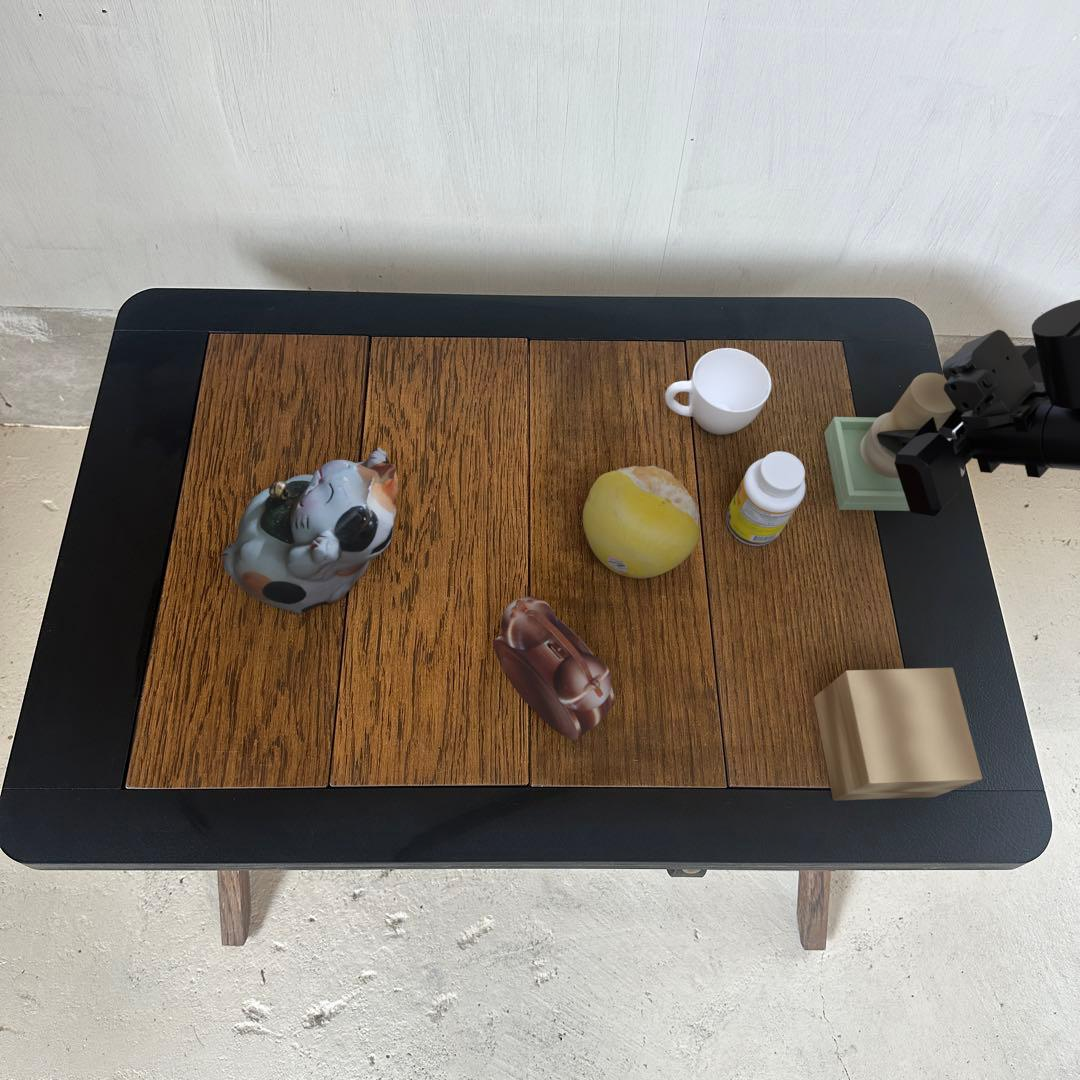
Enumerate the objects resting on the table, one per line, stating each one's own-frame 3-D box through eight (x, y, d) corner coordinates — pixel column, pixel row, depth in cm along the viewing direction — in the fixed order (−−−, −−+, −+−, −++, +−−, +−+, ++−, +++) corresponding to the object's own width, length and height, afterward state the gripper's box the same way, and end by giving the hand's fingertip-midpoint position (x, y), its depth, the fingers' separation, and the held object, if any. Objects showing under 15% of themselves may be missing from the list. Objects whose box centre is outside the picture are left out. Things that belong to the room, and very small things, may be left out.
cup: (757, 449, 88) (777, 412, 82) (662, 449, 87) (674, 411, 81) (747, 388, 91) (765, 347, 85) (655, 388, 91) (666, 347, 84)
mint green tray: (909, 434, 89) (922, 418, 87) (928, 511, 85) (942, 496, 83) (823, 432, 89) (833, 416, 86) (838, 510, 85) (849, 495, 82)
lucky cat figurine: (285, 467, 84) (334, 383, 74) (386, 538, 86) (446, 466, 76) (194, 572, 74) (236, 491, 64) (310, 649, 76) (368, 583, 66)
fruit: (680, 604, 80) (703, 559, 71) (568, 579, 80) (577, 531, 71) (695, 511, 84) (719, 458, 75) (589, 488, 85) (600, 432, 76)
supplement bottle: (747, 488, 86) (777, 432, 76) (791, 523, 84) (827, 470, 75) (712, 522, 84) (739, 469, 74) (757, 559, 82) (789, 509, 73)
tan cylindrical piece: (929, 471, 83) (981, 412, 74) (876, 484, 82) (922, 425, 73) (902, 423, 86) (949, 360, 77) (850, 435, 85) (892, 373, 76)
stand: (910, 694, 77) (953, 667, 70) (935, 797, 73) (983, 779, 66) (813, 697, 76) (846, 670, 69) (832, 800, 72) (869, 783, 65)
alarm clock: (609, 722, 74) (635, 670, 61) (569, 759, 73) (586, 713, 59) (527, 633, 78) (534, 564, 64) (487, 666, 76) (485, 603, 63)
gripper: (1104, 283, 68) (929, 299, 81) (971, 409, 61) (805, 404, 75) (1126, 403, 72) (957, 399, 86) (1004, 531, 66) (842, 506, 79)
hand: (893, 424), depth 81 cm, fingers closed on tan cylindrical piece, 4 cm apart
